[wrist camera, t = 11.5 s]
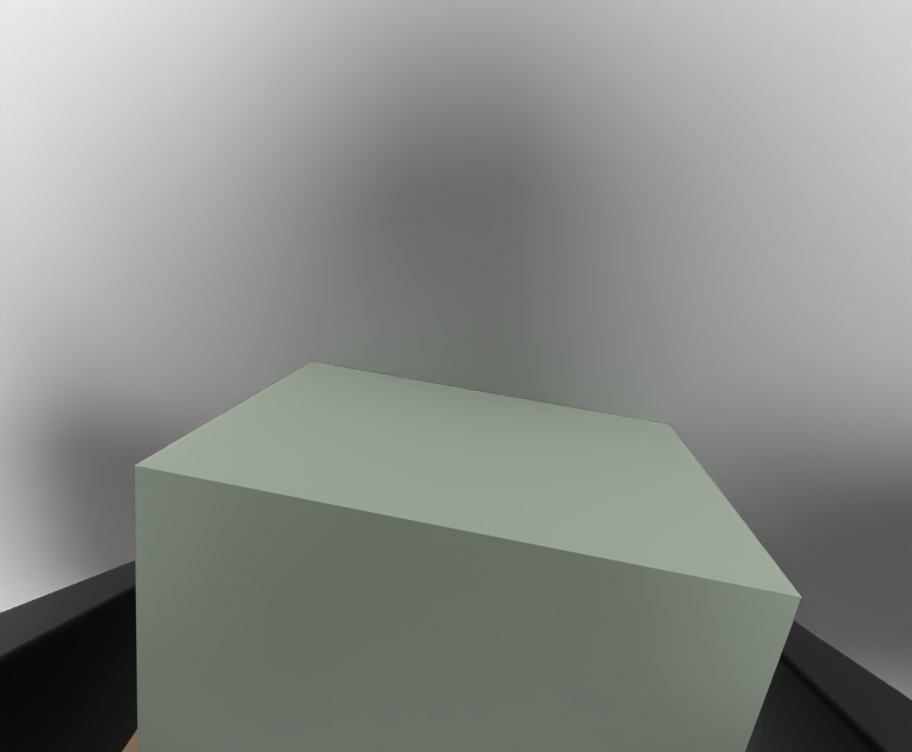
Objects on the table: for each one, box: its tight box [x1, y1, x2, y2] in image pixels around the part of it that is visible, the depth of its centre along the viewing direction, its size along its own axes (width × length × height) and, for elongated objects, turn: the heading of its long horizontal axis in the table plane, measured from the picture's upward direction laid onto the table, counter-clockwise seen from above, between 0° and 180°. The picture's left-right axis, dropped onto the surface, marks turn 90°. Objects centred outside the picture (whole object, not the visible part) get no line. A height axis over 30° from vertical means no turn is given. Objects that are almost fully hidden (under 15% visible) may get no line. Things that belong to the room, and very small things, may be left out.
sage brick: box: [134, 362, 802, 752], centre depth 8 cm, size 6×6×4 cm
